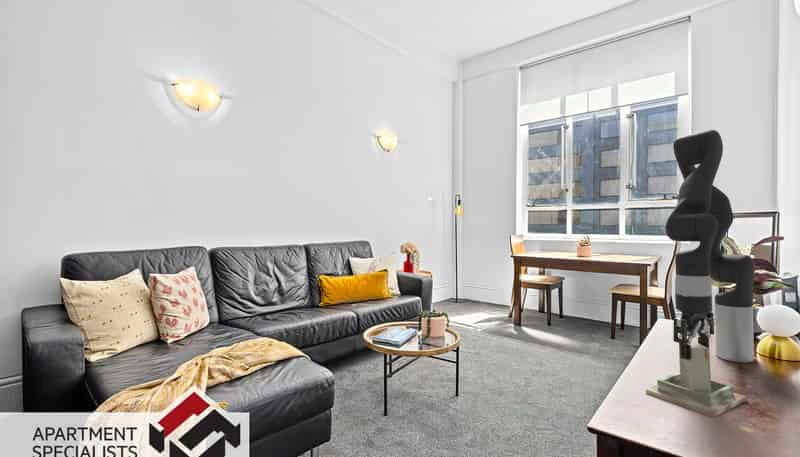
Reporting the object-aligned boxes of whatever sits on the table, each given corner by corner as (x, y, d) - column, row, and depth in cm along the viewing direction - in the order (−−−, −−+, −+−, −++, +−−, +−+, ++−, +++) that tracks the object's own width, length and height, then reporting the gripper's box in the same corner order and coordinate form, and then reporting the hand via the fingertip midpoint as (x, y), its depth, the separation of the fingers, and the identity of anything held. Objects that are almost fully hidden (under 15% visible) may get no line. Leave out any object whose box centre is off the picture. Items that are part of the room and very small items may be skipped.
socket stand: (680, 379, 110) (679, 367, 110) (746, 400, 97) (746, 386, 97) (646, 392, 103) (645, 379, 103) (712, 417, 89) (712, 402, 89)
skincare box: (712, 398, 96) (711, 349, 96) (692, 397, 97) (691, 348, 97) (697, 387, 103) (696, 341, 103) (679, 386, 104) (678, 340, 103)
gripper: (691, 287, 106) (693, 346, 106) (661, 293, 99) (663, 356, 100) (724, 290, 99) (726, 354, 99) (694, 298, 93) (696, 366, 93)
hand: (694, 355), depth 100 cm, fingers open, 8 cm apart
